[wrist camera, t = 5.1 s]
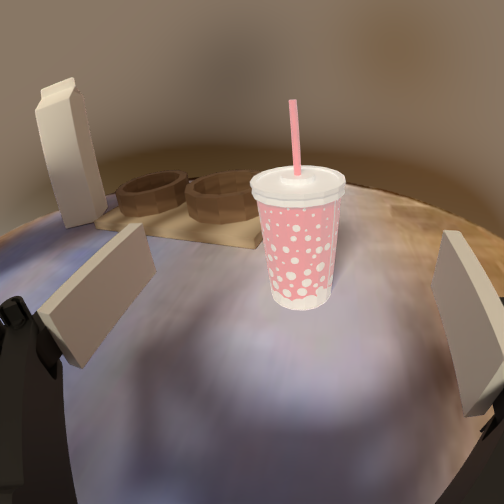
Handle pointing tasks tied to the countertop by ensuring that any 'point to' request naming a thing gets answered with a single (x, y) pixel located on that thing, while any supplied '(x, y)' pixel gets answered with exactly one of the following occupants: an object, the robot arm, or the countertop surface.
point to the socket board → (187, 228)
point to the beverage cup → (299, 226)
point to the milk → (70, 154)
